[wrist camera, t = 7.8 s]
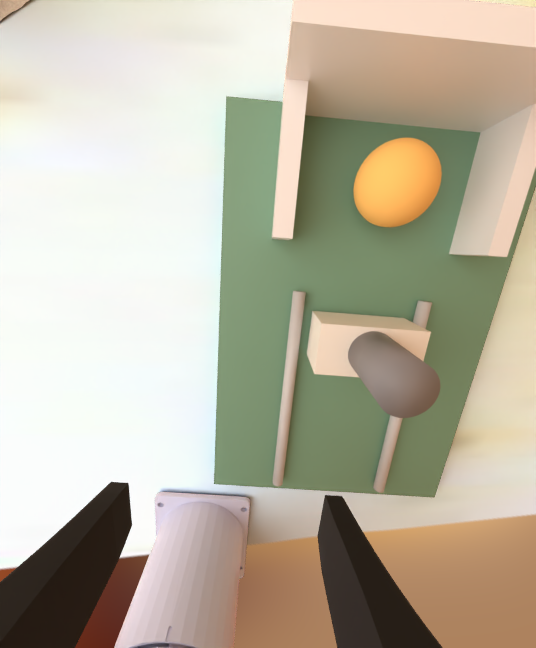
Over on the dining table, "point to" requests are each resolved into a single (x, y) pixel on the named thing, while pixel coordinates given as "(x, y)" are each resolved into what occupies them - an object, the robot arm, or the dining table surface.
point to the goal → (420, 95)
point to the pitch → (339, 309)
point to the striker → (376, 358)
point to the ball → (397, 182)
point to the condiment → (10, 6)
